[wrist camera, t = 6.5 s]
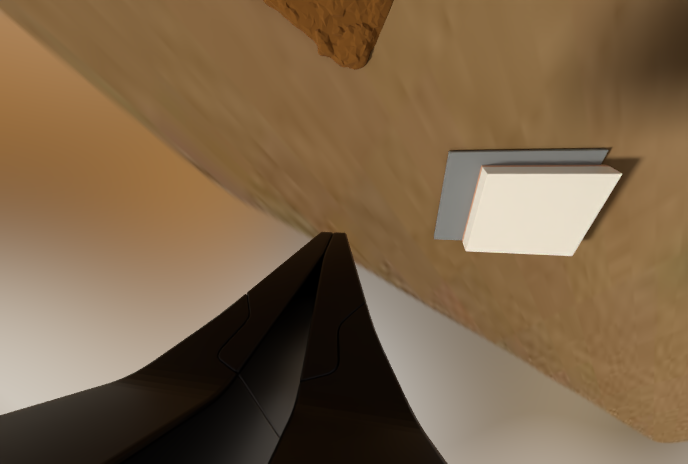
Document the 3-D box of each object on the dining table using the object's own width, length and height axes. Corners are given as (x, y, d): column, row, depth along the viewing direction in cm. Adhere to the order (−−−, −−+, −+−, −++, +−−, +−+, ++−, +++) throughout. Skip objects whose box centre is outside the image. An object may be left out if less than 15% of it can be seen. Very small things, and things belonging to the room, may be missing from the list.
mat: (605, 148, 17) (608, 150, 17) (555, 241, 22) (557, 243, 22) (448, 150, 19) (449, 152, 19) (433, 237, 24) (434, 239, 23)
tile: (481, 165, 19) (607, 164, 18) (461, 240, 23) (562, 244, 22) (487, 173, 18) (622, 173, 16) (465, 251, 22) (572, 256, 20)
